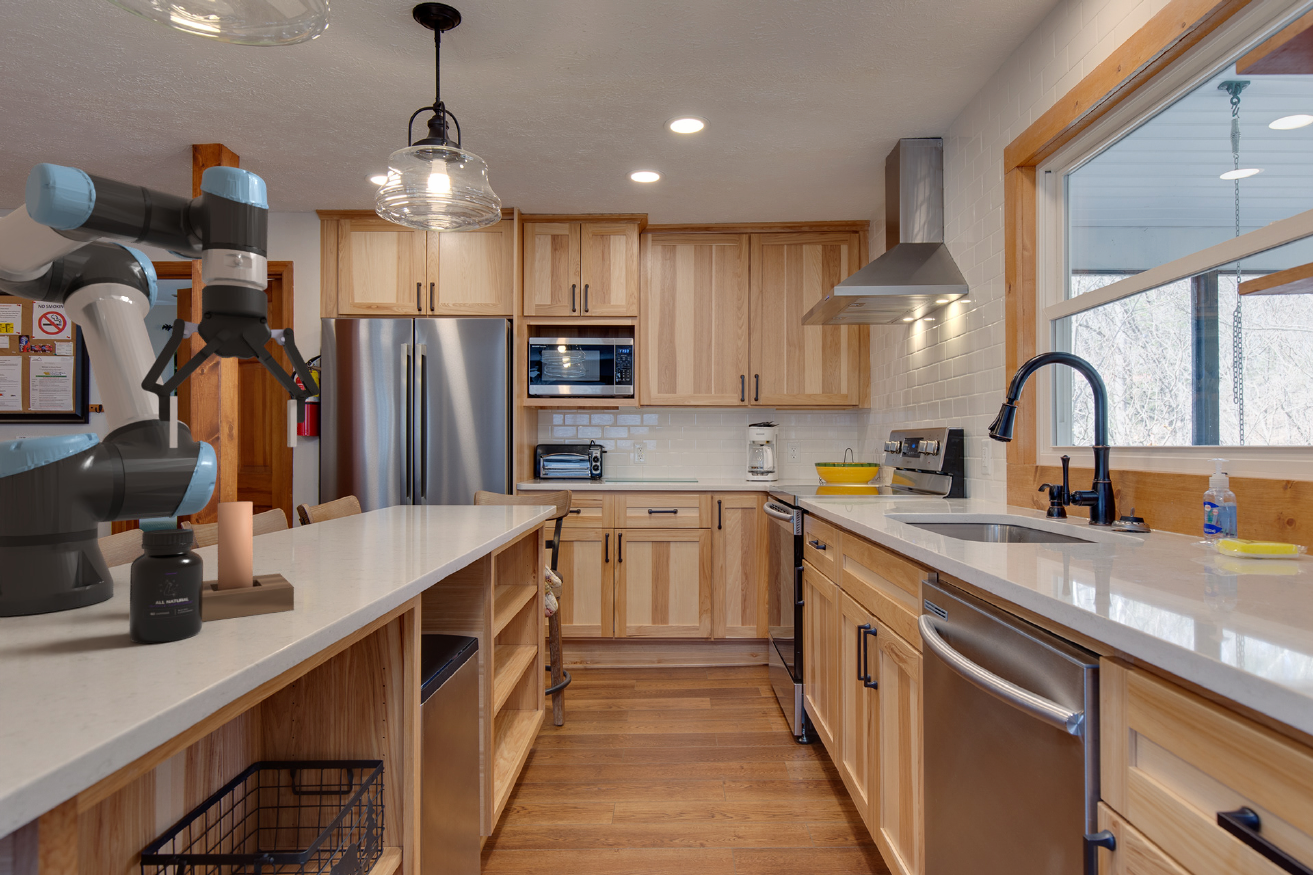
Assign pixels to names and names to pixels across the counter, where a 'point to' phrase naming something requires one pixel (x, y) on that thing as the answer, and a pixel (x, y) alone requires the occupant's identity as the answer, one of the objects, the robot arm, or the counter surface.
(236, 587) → the dowel
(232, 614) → the socket block
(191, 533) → the supplement bottle
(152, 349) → the robot arm
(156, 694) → the counter surface
